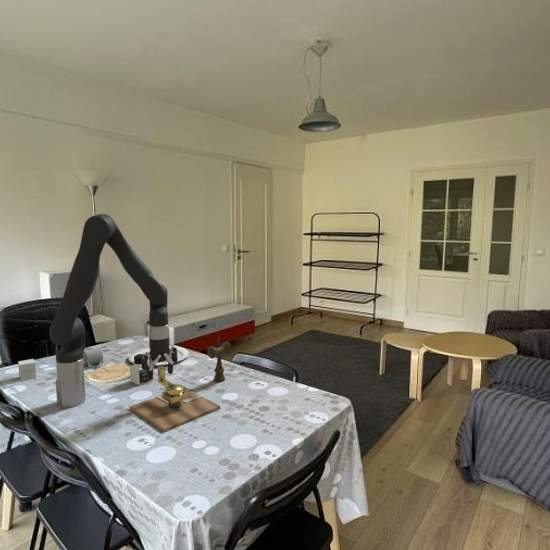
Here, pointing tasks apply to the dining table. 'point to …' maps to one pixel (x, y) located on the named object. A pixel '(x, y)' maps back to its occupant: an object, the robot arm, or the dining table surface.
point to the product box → (27, 369)
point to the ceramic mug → (93, 357)
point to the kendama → (219, 358)
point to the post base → (174, 410)
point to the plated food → (181, 355)
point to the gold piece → (171, 388)
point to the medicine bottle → (138, 371)
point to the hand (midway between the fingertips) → (160, 376)
